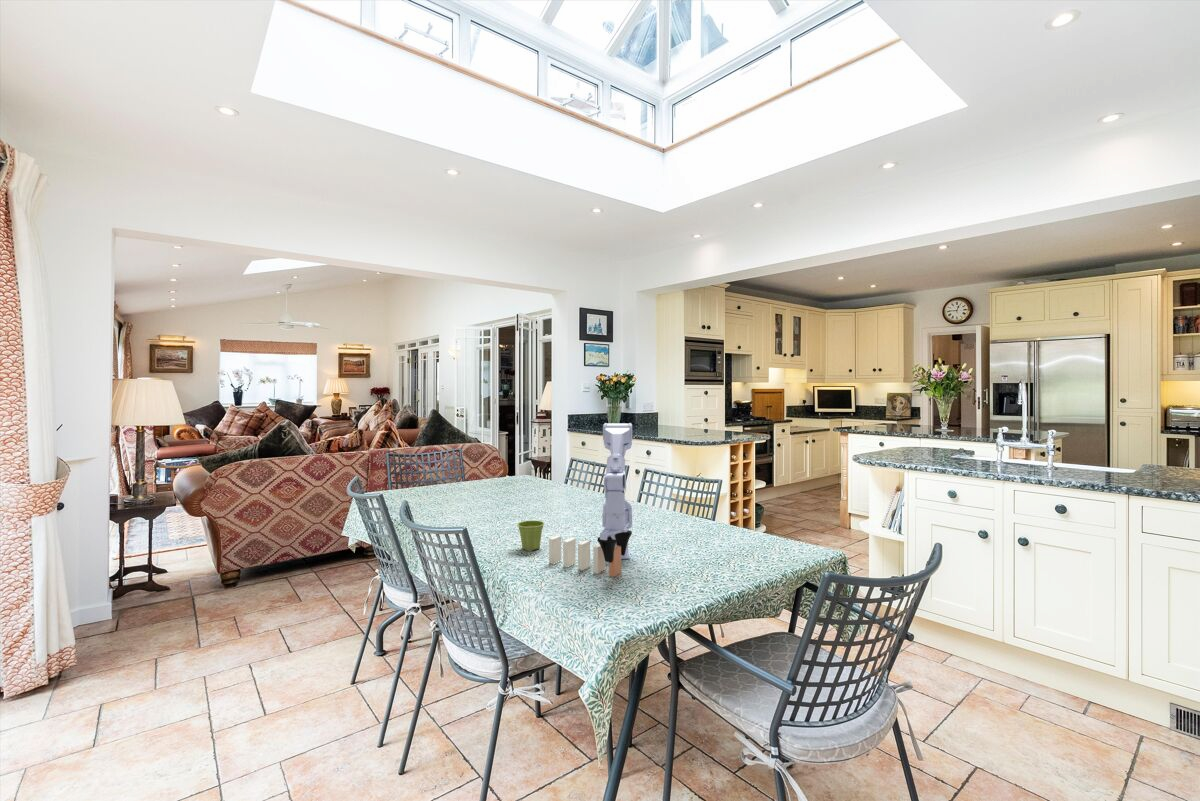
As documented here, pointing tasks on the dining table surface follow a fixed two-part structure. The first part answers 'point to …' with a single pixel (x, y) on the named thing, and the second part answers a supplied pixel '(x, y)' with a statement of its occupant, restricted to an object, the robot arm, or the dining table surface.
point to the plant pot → (530, 534)
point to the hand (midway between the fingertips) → (615, 558)
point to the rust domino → (615, 562)
